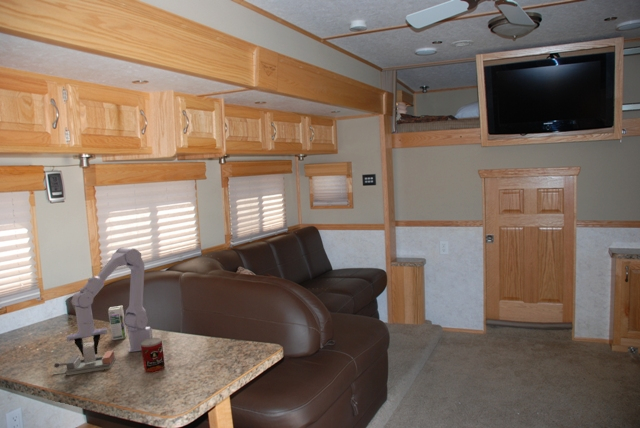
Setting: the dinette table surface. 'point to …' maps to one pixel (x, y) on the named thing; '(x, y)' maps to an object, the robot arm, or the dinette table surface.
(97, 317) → the dinette table surface
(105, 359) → the block
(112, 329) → the syrup box
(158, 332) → the dinette table surface
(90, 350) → the aluminium block
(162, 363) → the canned food
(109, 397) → the dinette table surface
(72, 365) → the vise base
